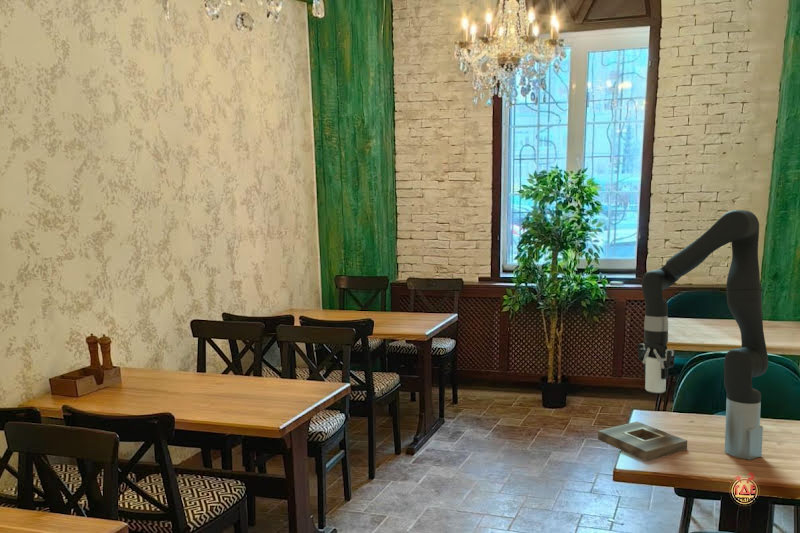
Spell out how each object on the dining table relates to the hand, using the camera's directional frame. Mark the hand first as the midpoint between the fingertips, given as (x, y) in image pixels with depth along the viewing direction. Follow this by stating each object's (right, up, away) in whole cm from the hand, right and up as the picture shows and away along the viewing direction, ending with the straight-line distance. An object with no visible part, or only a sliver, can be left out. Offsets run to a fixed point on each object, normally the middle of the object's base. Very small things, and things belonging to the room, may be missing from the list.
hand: (655, 376), depth 213 cm
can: (0, -5, 0) cm, 5 cm away
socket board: (-9, -20, -11) cm, 24 cm away
